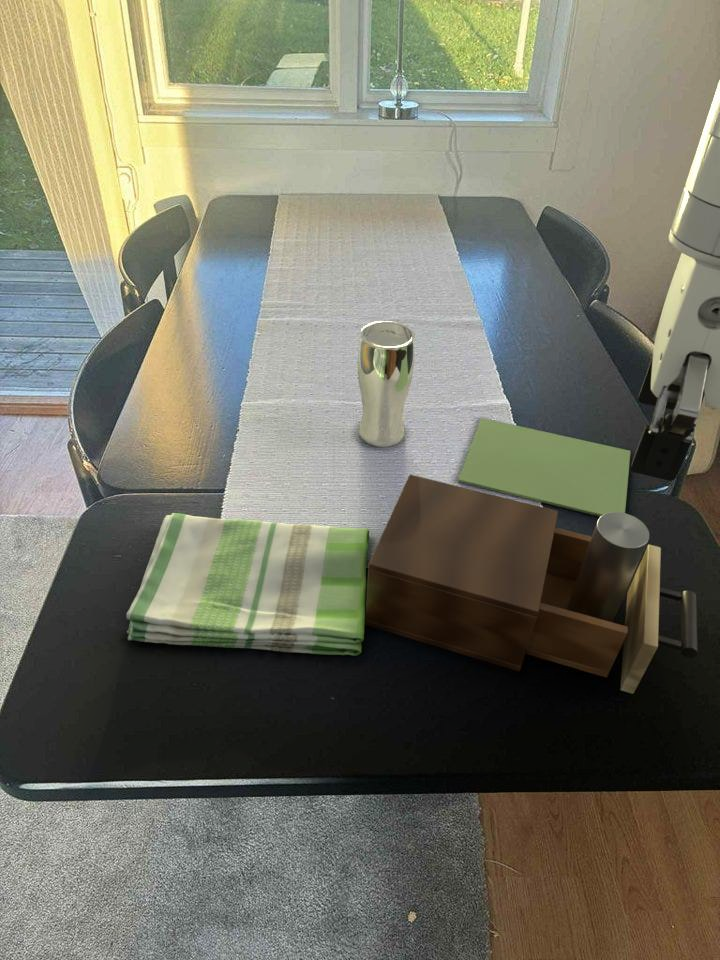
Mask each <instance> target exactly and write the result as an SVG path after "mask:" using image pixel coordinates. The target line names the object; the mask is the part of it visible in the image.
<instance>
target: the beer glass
mask: <svg viewBox="0 0 720 960" xmlns="http://www.w3.org/2000/svg"><path fill="white" fill-rule="evenodd" d="M359 336H360V338H359V345H358V346H359V347H358V355H357V377H358V386H359V391H360V397H361V405H362V414H361V420H360V424H359V426H358V427H359V428H358V434H359V437H360V439H361V440H362V441H363V442H365V443H366V444H368V445H371V446H374V447H379V448H383V447H384V448H385V447H391V446H395V445H396V444H397V445H398V443H400V442H401V441H402V440H403V438H404V436H405V426H404V419H403V415H404V408H405V404H406V401H407V397H408V394H409V390H410V387H411V384H412V379H413V375H414V368H415V367H414V365H415V332H414V331H413V330H412V328H410V327H409V326H408V325H406V324H404V323H401V322H397V321H391V320H385V321H384V320H380V321H374V322H371V323H368V324H367V325H365V326H363V328H361V331H360V335H359Z"/></svg>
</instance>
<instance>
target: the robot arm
mask: <svg viewBox="0 0 720 960" xmlns="http://www.w3.org/2000/svg"><path fill="white" fill-rule="evenodd" d="M668 240H669V243H670V244H671V245H672V246H673V248H674V249H676V250H677V251H679V252H680V253H681V254H680V256H679V260H678V262H677V265H676V267H675V268H676V269H675V271H674V274H673V276H672V279H671V282H670V285H669V288H668V291H667V294H666V298H665V300H664V304H663V307H662V310H661V315H660V318H659V322H658V325H657V329H656V333H655V338H654V342H653V352H652V358H651V359H650V362H649V365H648V368H647V371H646V374H645V376H644V380H643V382H642V385H641V388H640V391H639V393H638V397H637V398H638V399H637V400H638V403H640V404H644V405H648V406H653V407H654V411H653V414H652V418H651V421H650V425H648V424H645V426H644V429H643V432H642V434H641V437H640V439H639V442H638V445H637V448H636V450H635V453H634V456H633V458H632V461H631V464H630V470H631V472H633V473H636V474H639V475H644V476H648V477H651V478H656V479H661V480H665V481H668V482H669V481H674V480H676V479H677V476H678V474H679V472H680V470H681V467H682V465H683V463H684V460H685V458H686V456H687V453H688V451H689V449H690V447H691V444H692V442H693V437H694V435H695V431H696V428H697V423H698V420H699V417H700V413H701V409H702V406H703V402H704V406H705V407H707V408H711V410H714V411H715V410H716V411H717V410H719V409H720V79H719V81H718V83H717V87H716V90H715V93H714V96H713V98H712V102H711V105H710V108H709V112H708V114H707V117H706V120H705V124H704V127H703V130H702V133H701V136H700V139H699V142H698V146H697V149H696V152H695V155H694V158H693V160H692V164H691V167H690V170H689V172H688V176H687V179H686V182H685V185H684V187H683V191H682V194H681V196H680V200H679V203H678V206H677V209H676V212H675V215H674V218H673V221H672V224H671V228H670V229H669V233H668ZM666 409H667V410H672V411H673V412H672V413H667V414H666V415H665V416H664V414H665V411H666Z"/></svg>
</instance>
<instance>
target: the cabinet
mask: <svg viewBox="0 0 720 960" xmlns="http://www.w3.org/2000/svg"><path fill="white" fill-rule="evenodd" d="M405 481H406V482H405V484H404V486H403V488H402V490H401V492H400V495H399V496H398V498H397V501H396V503H395V505H394V508H393V510H392V511H391V514H390V516H389V518H388V521H387V523H386V525H385V527H384V529H383V532H382V533H381V536H380V538H379V540H378V542H377V544H376V547H375V549H374V550H373V554H372V555H371V558H370V560H369V562H368V567H367V568H368V569H367V582H366V599H365V626H367V627H370V628H373V629H377V630H381V631H384V632H386V633H391V634H395V635H398V636H400V637H404V638H408V639H411V640H414V641H417V642H420V643H423V644H427V645H430V646H434V647H437V648H440V649H443V650H446V651H451V652H453V653H457V654H460V655H463V656H467V657H469V658H474V659H477V660H480V661H483V662H486V663H489V664H493V665H496V666H500V667H503V668H506V669H509V670H513V671H516V672H521V670H522V666H523V662H524V660H525V656H526V654H525V653H526V650H527V647H528V644H529V641H530V637H531V634H532V631H533V628H534V625H535V622H536V618H537V615H538V612H539V607H540V602H541V597H542V592H543V587H544V582H545V577H546V571H547V566H548V561H549V556H550V551H551V546H552V541H553V535H554V530H555V527H556V525H557V519H558V514H559V510H556V509H552V508H548V507H544V506H540V505H537V504H536V505H535V504H532V503H528V502H523V501H520V500H515V499H511V498H508V497H503V496H499V495H496V494H491V493H487V492H483V491H479V490H475V489H471V488H466V487H463V486H459V485H456V484H455V485H454V484H451V483H446V482H442V481H438V480H435V479H431V478H427V477H422V476H418V475H414V474H409V475H408V477H407V479H406V480H405Z"/></svg>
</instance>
